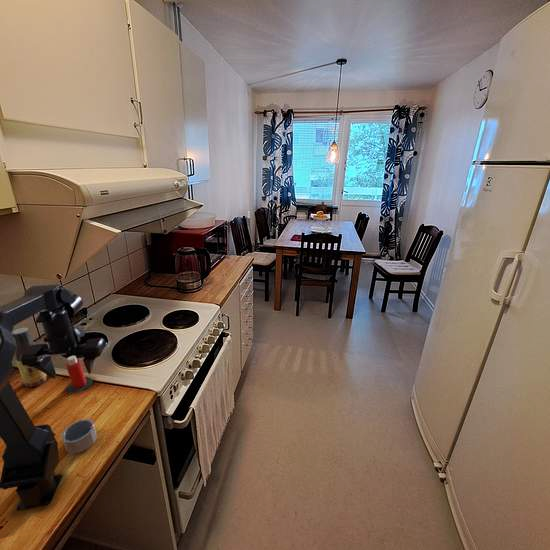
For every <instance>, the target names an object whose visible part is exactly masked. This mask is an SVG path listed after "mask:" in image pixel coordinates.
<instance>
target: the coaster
mask: <svg viewBox="0 0 550 550" xmlns="http://www.w3.org/2000/svg"><path fill="white" fill-rule="evenodd" d="M85 379H86V385H85V386H83V387H81V388H78V389H75V388H73V386H72V382H70V383H69V384H68V385H67V388H66V390H67V392H68V393H73V394H74V393H79V392H82V391H86V390H87V389H89V388H90V387H91V386H92V384H93V379H92V378H91V377H89V376H88V377H87V376H85Z"/></svg>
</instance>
